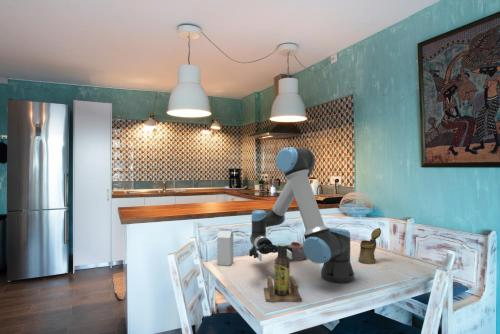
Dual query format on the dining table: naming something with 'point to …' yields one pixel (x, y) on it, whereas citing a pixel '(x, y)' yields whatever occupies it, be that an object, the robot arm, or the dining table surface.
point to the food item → (297, 251)
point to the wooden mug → (369, 248)
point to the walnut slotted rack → (274, 297)
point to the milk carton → (225, 247)
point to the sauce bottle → (281, 271)
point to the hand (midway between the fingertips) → (276, 256)
